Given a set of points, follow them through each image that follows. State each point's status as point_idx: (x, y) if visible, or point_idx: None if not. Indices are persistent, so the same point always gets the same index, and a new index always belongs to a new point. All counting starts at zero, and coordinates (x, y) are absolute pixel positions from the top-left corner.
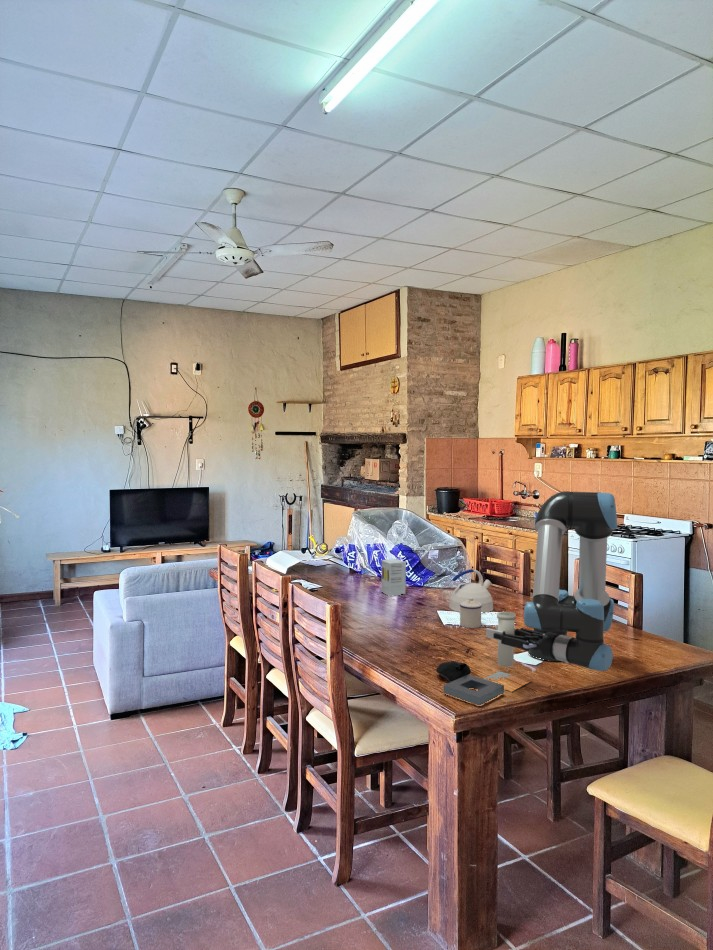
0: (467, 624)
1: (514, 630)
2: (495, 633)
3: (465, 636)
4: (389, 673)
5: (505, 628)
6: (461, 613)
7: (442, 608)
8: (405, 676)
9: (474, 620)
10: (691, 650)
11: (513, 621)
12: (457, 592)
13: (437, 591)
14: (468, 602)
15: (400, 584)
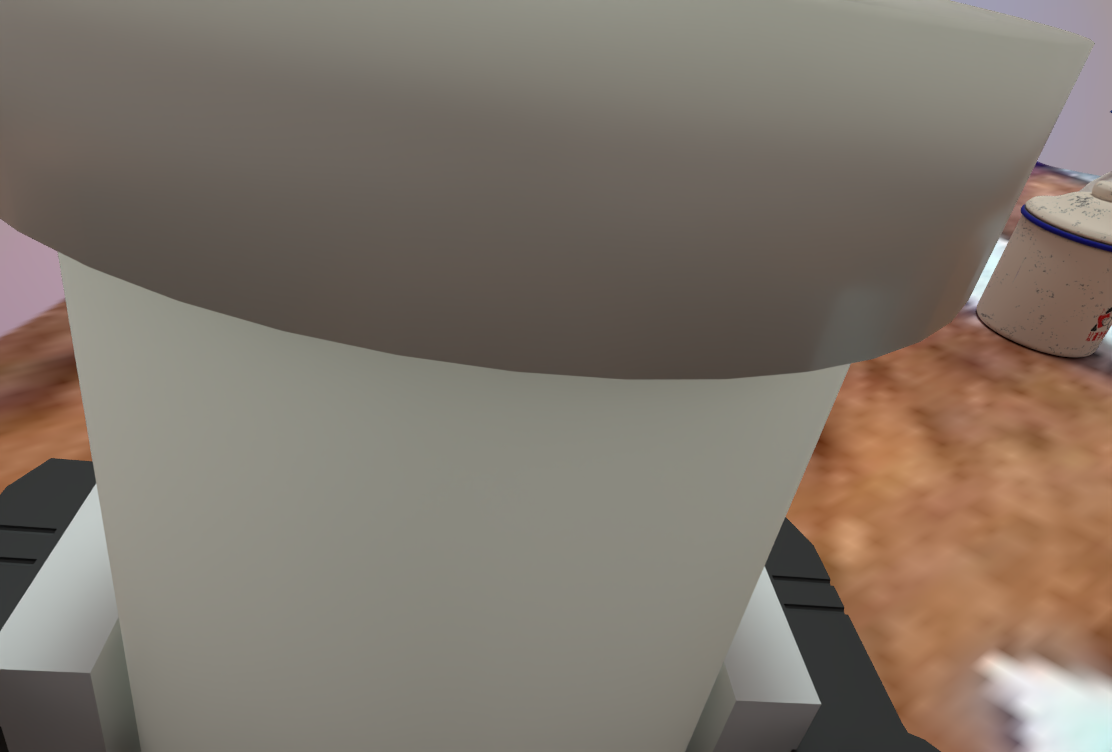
0: (1004, 316)
1: (783, 740)
2: (80, 487)
3: (910, 363)
4: (25, 325)
5: (114, 551)
6: (1006, 249)
7: (1005, 230)
8: (7, 388)
9: (1055, 311)
10: None
11: (530, 469)
12: (1109, 180)
13: (1077, 191)
14: (1077, 202)
15: None
